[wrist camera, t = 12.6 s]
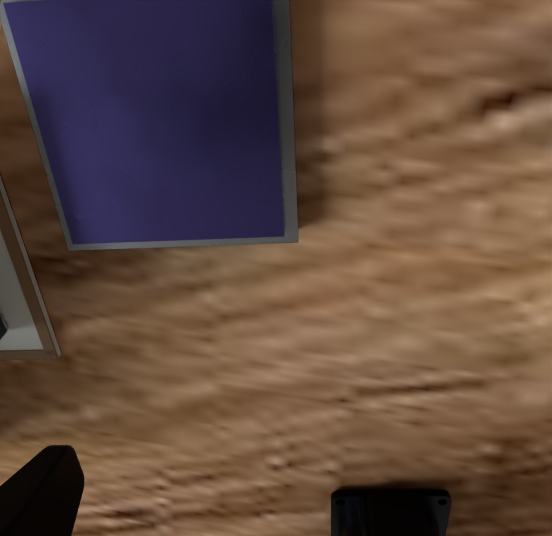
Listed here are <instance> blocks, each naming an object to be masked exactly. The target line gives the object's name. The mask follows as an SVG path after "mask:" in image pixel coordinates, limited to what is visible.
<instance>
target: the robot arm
mask: <svg viewBox="0 0 552 536" xmlns="http://www.w3.org/2000/svg"><path fill="white" fill-rule="evenodd" d="M83 489H84V474H83V471H82V469H81V466H80V463H79V460H78V458H77V455H76V452H75V450H74V448H73V447H72V446H70V445H51V446H48V447H46V448H44V449H43V450H42V451H41V452H40V453H38V454H37V455H36V456H35V457H34V458H33V459H31V460H30V461H29V462H28V463H27V464H26V465H24V466H23V467H22V468H21V469H20V470H19V471H17V472H16V473H15V474H14V475H13V476H12V477H10V478H9V479H8V480H7V481H6V482H5V483H3V484H2V485H1V486H0V536H71V535H72V531H73V527H74V524H75V520H76V516H77V512H78V508H79V505H80V501H81V497H82V493H83ZM451 503H452V501H451V497H450V494H449V492H448V491H446V490H338V491H335V492H333V493H332V494H331V536H446V530H447V525H448V519H449V514H450V508H451Z"/></svg>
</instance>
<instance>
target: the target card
mask: <svg viewBox="0 0 552 536" xmlns="http://www.w3.org/2000/svg"><path fill="white" fill-rule="evenodd" d="M0 314H2V315H3V317H4V320H5V321H6V323H7V325H8V331H7V333H6V334H5V335H4V336H3V337H2V339H1V340H0V360H38V359H58V358H59V356H60V355H61V352H60V349H59V346H58V343H57V340H56V337H55V334H54V331H53V328H52V325H51V322H50V319H49V317H48V314H47V311H46V308H45V305H44V302H43V299H42V296H41V293H40V290H39V287H38V284H37V281H36V279H35V276H34V273H33V270H32V267H31V264H30V261H29V258H28V255H27V252H26V249H25V246H24V243H23V241H22V238H21V235H20V232H19V229H18V226H17V223H16V220H15V217H14V214H13V211H12V208H11V205H10V203H9V200H8V197H7V194H6V191H5V188H4V185H3V182H2V179H1V176H0Z"/></svg>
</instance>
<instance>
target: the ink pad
mask: <svg viewBox="0 0 552 536" xmlns="http://www.w3.org/2000/svg"><path fill="white" fill-rule="evenodd" d="M0 19H1V23H2V26H3V30H4V33H5V36H6V40H7V43H8V47H9V50H10V53H11V57H12V60H13V64H14V67H15V70H16V74H17V77H18V80H19V84H20V87H21V91H22V94H23V97H24V101H25V104H26V108H27V111H28V114H29V118H30V121H31V125H32V128H33V131H34V135H35V138H36V142H37V145H38V148H39V152H40V155H41V159H42V162H43V165H44V169H45V172H46V176H47V179H48V182H49V186H50V189H51V192H52V196H53V199H54V203H55V206H56V209H57V213H58V216H59V220H60V223H61V226H62V230H63V233H64V237H65V240H66V243H67V247H68V250H69V251H74V250H102V249H130V248H158V247H187V246H215V245H243V244H271V243H298V209H297V183H296V157H295V131H294V105H293V79H292V53H291V27H290V1H289V0H0Z"/></svg>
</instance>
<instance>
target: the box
mask: <svg viewBox="0 0 552 536" xmlns="http://www.w3.org/2000/svg"><path fill="white" fill-rule="evenodd" d="M7 331H8V325H7V323H6V321H5V320H4V317H3V315H2V314H0V340H1V339H2V337H3V336H4V335H5V334H6V333H7Z"/></svg>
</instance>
